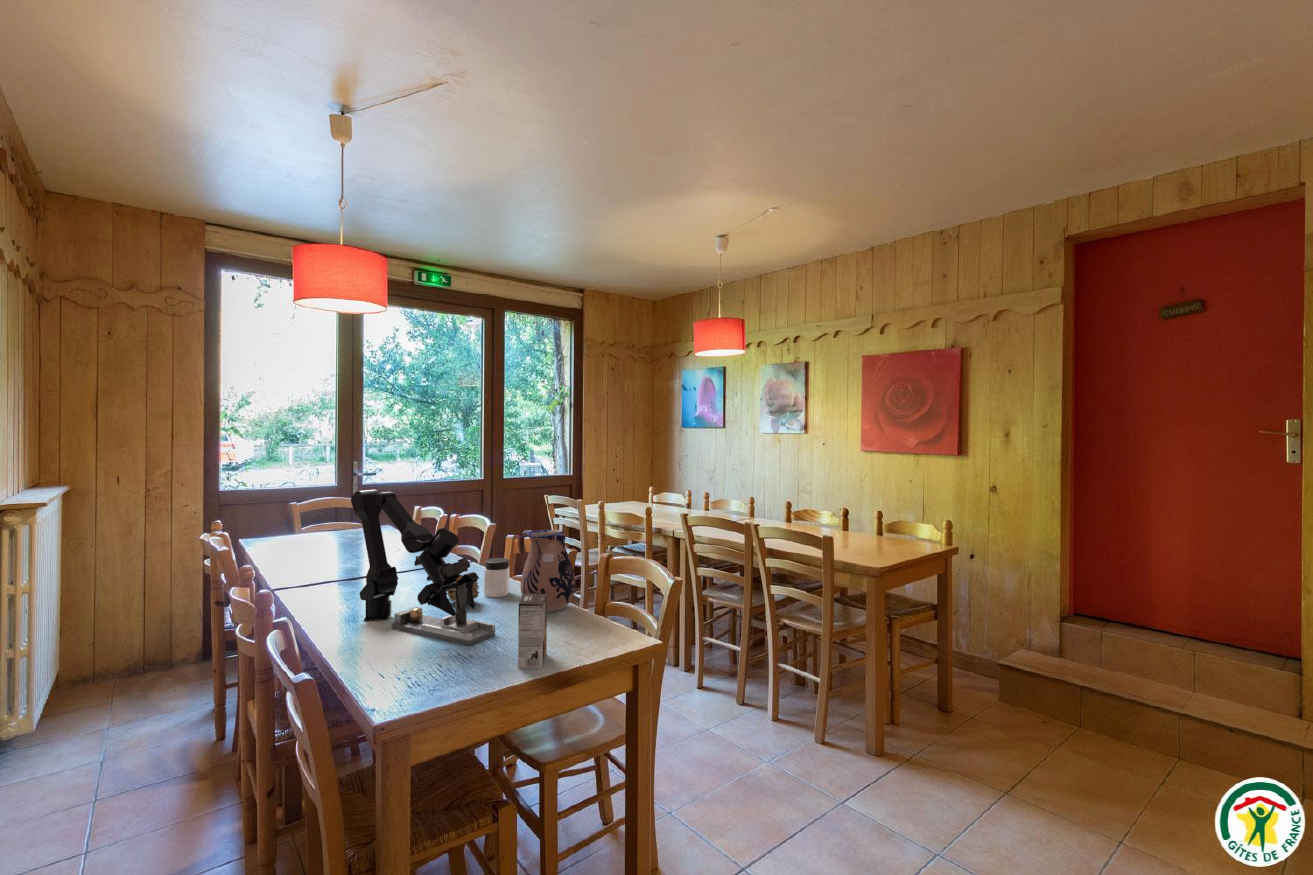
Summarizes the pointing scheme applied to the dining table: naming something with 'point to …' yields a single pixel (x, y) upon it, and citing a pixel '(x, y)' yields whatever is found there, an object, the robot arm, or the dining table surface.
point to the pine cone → (453, 592)
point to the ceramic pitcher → (547, 568)
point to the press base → (439, 628)
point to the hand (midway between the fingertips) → (464, 611)
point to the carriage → (460, 614)
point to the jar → (496, 577)
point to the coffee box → (532, 630)
